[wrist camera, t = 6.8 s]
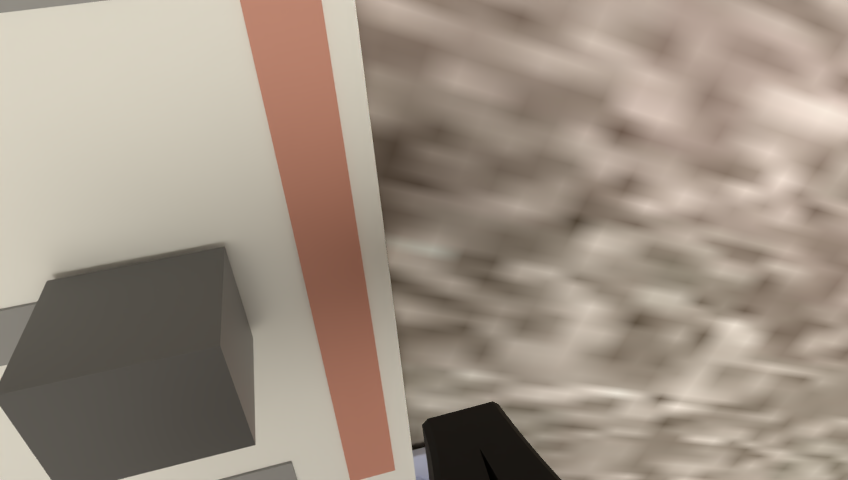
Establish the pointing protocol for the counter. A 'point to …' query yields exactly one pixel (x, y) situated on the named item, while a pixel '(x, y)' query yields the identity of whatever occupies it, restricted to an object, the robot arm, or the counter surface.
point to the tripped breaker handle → (134, 369)
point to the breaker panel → (212, 204)
